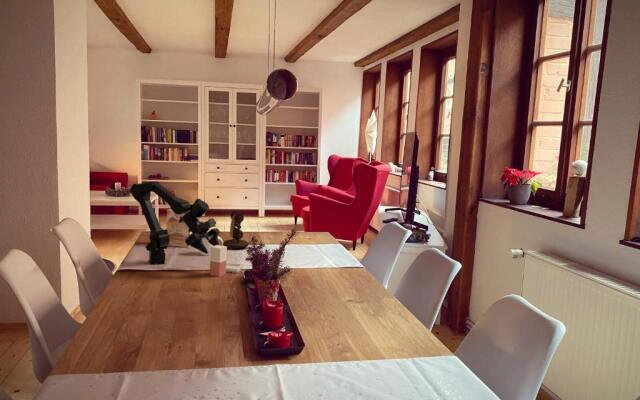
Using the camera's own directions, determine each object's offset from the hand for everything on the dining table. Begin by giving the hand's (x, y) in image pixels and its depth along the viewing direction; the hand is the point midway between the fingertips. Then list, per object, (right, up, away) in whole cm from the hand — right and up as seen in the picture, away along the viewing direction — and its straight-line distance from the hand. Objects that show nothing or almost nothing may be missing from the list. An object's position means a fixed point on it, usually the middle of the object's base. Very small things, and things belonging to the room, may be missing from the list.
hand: (213, 251), depth 215 cm
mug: (-10, -5, +37) cm, 39 cm away
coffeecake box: (-30, -2, +53) cm, 61 cm away
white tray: (+5, -9, +9) cm, 14 cm away
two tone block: (+2, -10, 0) cm, 10 cm away
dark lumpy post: (0, -4, +56) cm, 56 cm away
